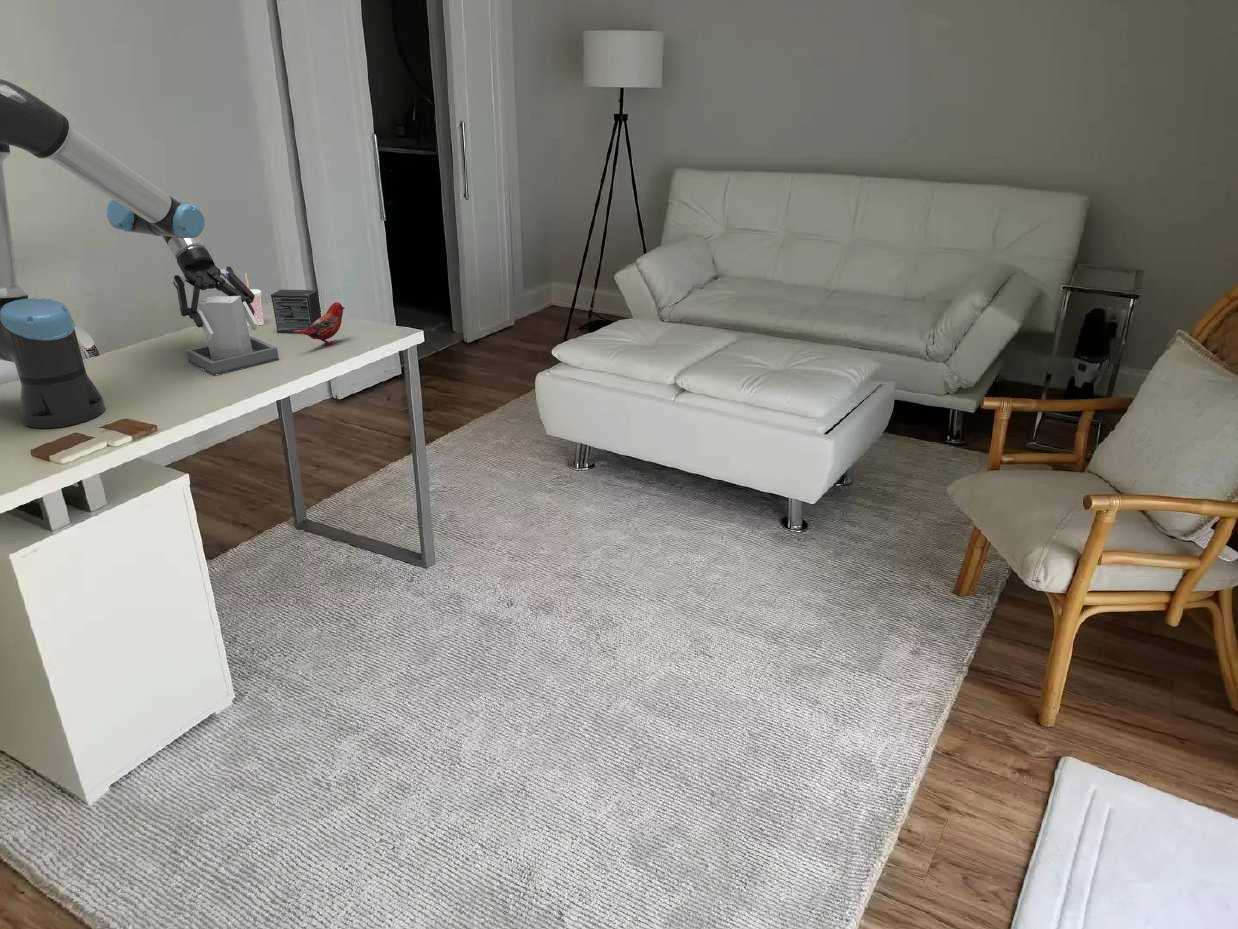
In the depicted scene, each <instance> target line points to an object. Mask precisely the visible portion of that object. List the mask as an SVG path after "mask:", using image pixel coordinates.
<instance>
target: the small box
mask: <svg viewBox="0 0 1238 929" xmlns="http://www.w3.org/2000/svg"><path fill="white" fill-rule="evenodd" d="M270 297H271V303H272V308H273V313H274V314H273V315H274V319H275V325H276V333H278V334H293V333H292V331H298V330H305V329H307V328H308V327H309V326H310V325H311V324H312V323H314V322H315V321H316V320H318V319H319V318H321V317H322V313H321V306H320V305H321V304H320V299H319V292H318V290H317V289H279V290H277V291H275V292H273V293H271V294H270Z"/></svg>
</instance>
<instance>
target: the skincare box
mask: <svg viewBox="0 0 1238 929" xmlns="http://www.w3.org/2000/svg"><path fill="white" fill-rule="evenodd" d="M198 308H199V311H200V310H201V311H202V313H203V314H204V316H205V318H206V320H207V322H208V324H209V325H210V327H211V329H212V331H213V333H214V334H213V337H212V340H208V338H207V336H206V335H205V337H206V342H207V346H208V347H209V351H210V355H211V359H212V361H218V360H223V359H227V358H231V357H235V356H239V355H244V354H248V353H252V352H253V350H252V345H251V341H250V336H251V335H250V333H249V327H248V326H247V322H246V318H245V313H244V309H243V304H242V300H241V296H228V295H226V296H221V295H220V296H218V295H217V296H207V297H206V298H204V299H203V300H201V301H198Z"/></svg>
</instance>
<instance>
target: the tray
mask: <svg viewBox="0 0 1238 929" xmlns="http://www.w3.org/2000/svg"><path fill="white" fill-rule="evenodd" d="M249 336H250V341H251V345H252V350H253V352H252V353H248V354H244V355H239V356H235V357H231V358H227V359H223V360H218V361H212V359H211V355H210V351H209V347H208V345H204V346H199V347H195V348H191V349H186V355H187V360H188V363H189V362H191V363H192V364H191V363H190V364H191V365H193V364H194V365H193V366H195V367H197V368H198V369H201V368H202V369H204V370H205V371H204V370H203V371H204V372H206V371H207V372H206V373H208V374H209V375H212V374H213V375H212V376H214V375H216V374H220V375H223V373H224V374H228V373H230V372H231V371H232V372H235V371H234V370H236V371H239V370H238V369H240V370H242V369H241V368H244V369H247V368H252V367H255V366H259V365H263V363H264V364H267V362H268V363H271V362H275V361H279V360H280V359H279V358H280V357H279V352H278V347H275V346H273V345H272V344H269V343H267V342H265V341H262V340H260V339H258V338H256V337H253V336H251V335H249ZM202 369H201V370H202ZM227 372H228V373H227ZM216 376H217V375H216Z"/></svg>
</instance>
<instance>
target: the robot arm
mask: <svg viewBox="0 0 1238 929" xmlns="http://www.w3.org/2000/svg"><path fill="white" fill-rule="evenodd" d="M10 146H13V147H16V148H19V149H22V150H24V151H26V152H27V153H30V154H31V155H33V156H35V157H36V158H37V159H41V160H44V159H49V160H50V161H52V162H53V163H55V164H57V165H58V166H60V167H62V168H63V169H64V170H66V171H68V172H69V173H70V174H72V175H74V176H76V177H77V178H79V179H80V180H82V181H84V182H85V183H87V184H88V185H89V186H91V187H93V188H95V189H96V190H97V191H99V192H101V193H102V194H103V195H106V196H107V197H108V198H110V199H111V200H109V203H108V205H107V208H106V209H107V212H106V213H107V214H106V215H107V220H108V222H109V224H110V225H111V227H113V228H114V229H117V230H120V231H124V232H127V233H129V232H130V233H131V232H132V233H137V234H142V235H143V234H144V235H151V236H155V237H162V238H163V239H164V242H165V243H166V244H167V246H168V248H169V251H170V252H171V255H173V257H174V259H175V261H176V263H177V265H178V267H179V269H180V271H181V273H182V274H183V275H181V276H180V275H179V274H176V275H175V274H174V277H173V280H172V284H173V286H174V287H175V289H176V293H177V299H178V306H179V310H180V316H182V317H187V316H189V319H192V321H193V322H194V324H195V325H196V326H195V327H197V328H201V329H202V330H203V332H204V334H205V337H206V336H207V338H208V340H212V337H213V334H214V333H213V331H212V329H211V327H210V325H209V324H208V322H207V320H206V318H205V316H204V314H203V313H202V311H201V310H200V309H199V310H198V308H199V304H198V303H199V298H200V293H201V292H200V291H207V290H209V289H212V290H213V289H216V290H217V291H220V292H222V293H224V294H225V295H226V296H241V300H242V304H243V309H244V313H245V318H246V319H247V321H248V323H249V325H250V328H251V331H256V329H257V327H258V326H257V325H258V323H257V321H256V319H255V318H254V313H255V311H254V309H253V307H252V306H251V304H250V303H252V302H253V300H254V297H255V295H254V294H253V293H252V292H251V291H250V290H249V289H250V288H249V289H248V287H247V284H245V283H244V282H243V281H242V280H241V279H240V278H239V277H238V276H237V274H235V272H234V271H233V270H234V269H233V268H232V266H229V265H228V266H226V268H221V269H220V268H218V267H217V265H216V264H215V261H214V259H213V258H212V255H211V254H210V252H209V251H208V249H207V247H206V245H205V242H204V241H203V240H202V238H201V236H200V235H201V234H202V233H203V231H204V229H205V228H204V227H205V222H206V221H205V216H204V213H203V212H202V211H201V209H200V208H199V207H198V206H195V205H193V204H189V203H185V202H182V203H181V201H180V199H178V198H177V197H175V196H173V195H169V194H167V193H166V192H165V191H163V190H162V189H160V188H159V187H158V186H156V185H155V184H153V183H152V182H150V181H149V180H148V179H147V178H146V177H143V176H141V175H140V174H139V173H137V171H135V170H134V169H132V168H131V167H129V166H127V165H126V164H125V163H123V162H122V161H120V160H119V159H118V158H117V157H116V158H115V156H113V155H111V154H110V152H109V153H108V151H106V150H104V149H103V148H101V146H99V145H97V144H96V143H94V142H93V141H92V140H90V139H89V138H87V137H85V136H84V135H83V134H82V133H81V132H79V131H78V130H75V129H74V128H73V127H72V126H71V123H70V120H69V119H68V118H67V117H66V116H65V115H64V114H62V113H60V112H59V111H58V110H56V109H55V108H54V107H52V106H51V105H50V104H48V103H46V102H44V100H41V99H40V98H39V97H38V96H36V95H34V94H32V93H31V92H29V91H28V90H26V89H24V88H22V87H21V86H18V85H16V84H15V83H12V82H10V81H8V80H4V79H1V78H0V360H1V361H5V362H12V363H14V364H15V368H16V371H17V374H18V375H17V376H18V377H19V382H20V384H21V387H20V400H19V402H20V403H19V416H20V419H21V422H22V424H23V425H24V426H26V427H29V428H35V429H53V428H62V427H67V426H72V425H76V424H81V423H84V422H87V421H90V420H92V419H94V418H96V417H99V416H100V415H102V413H104V411H105V410H106V405H105V401H104V397H103V396H102V395H101V393H100V391H99V389H97V387H96V386H95V384H94V383H93V381H92V380H91V379H90V377H89V375H88V374H87V370H86V367H85V362H84V358H83V355H82V352H81V348H80V344H79V341H78V338H77V337H78V336H77V333H76V329H75V322H74V320H73V317H72V315H71V312H70V310H69V308H68V307H67V306H66V305H65V304H63V302H60V301H57V300H54V299H51V298H50V299H49V298H38V299H37V298H36V297H35V298H29V294H28V292H27V291H26V290H25V289H24V288H23V287H22V286H20V285H19V283H18V277H17V274H18V273H17V268H16V261H15V260H16V259H15V251H14V245H13V244H14V243H13V237H12V229H11V222H10V214H9V205H8V199H7V189H6V180H5V173H4V166H3V163H4V161H5V160H6V159H7V158H9V156H10V155H11V148H10ZM223 277H224V278H223ZM226 280H227V281H228V282H229V283H228V282H226ZM186 283H187V284H189V285H190V286H192V287H193V288H192V289H193V290H192V298H191V303H190V304H191V305H190V307H189V306H188V300H187V294H186V288H185V284H186ZM207 338H206V339H207Z"/></svg>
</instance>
